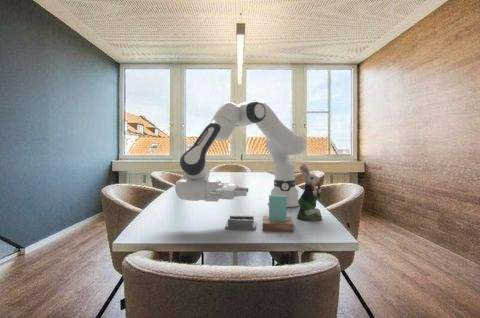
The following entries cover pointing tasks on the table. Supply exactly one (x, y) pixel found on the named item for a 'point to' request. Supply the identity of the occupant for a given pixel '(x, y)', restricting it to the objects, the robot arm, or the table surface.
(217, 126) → the robot arm
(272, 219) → the sign block
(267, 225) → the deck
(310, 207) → the figurine
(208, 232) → the table surface
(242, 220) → the rack
